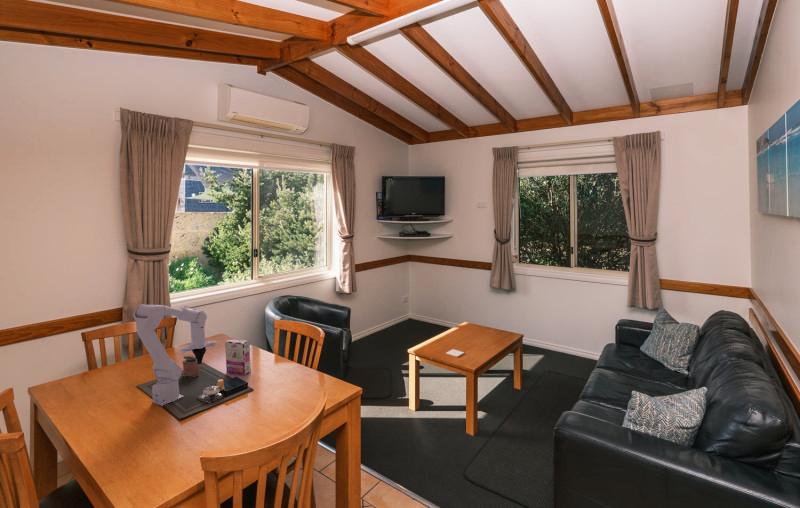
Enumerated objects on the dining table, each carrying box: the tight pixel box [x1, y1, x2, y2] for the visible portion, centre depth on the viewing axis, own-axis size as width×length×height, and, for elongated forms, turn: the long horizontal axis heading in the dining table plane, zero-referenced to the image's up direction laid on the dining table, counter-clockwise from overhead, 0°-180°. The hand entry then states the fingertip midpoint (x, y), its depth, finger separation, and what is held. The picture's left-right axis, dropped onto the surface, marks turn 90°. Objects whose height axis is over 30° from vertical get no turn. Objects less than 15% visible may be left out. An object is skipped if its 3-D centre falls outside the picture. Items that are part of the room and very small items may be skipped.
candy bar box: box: [224, 338, 252, 376], centre depth 202 cm, size 11×5×16 cm, turn 73°
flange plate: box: [202, 378, 225, 395], centre depth 176 cm, size 8×7×4 cm
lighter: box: [181, 355, 200, 377], centre depth 198 cm, size 8×3×10 cm, turn 84°
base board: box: [196, 385, 225, 402], centre depth 176 cm, size 9×9×4 cm
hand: (199, 363), depth 189 cm, fingers closed
